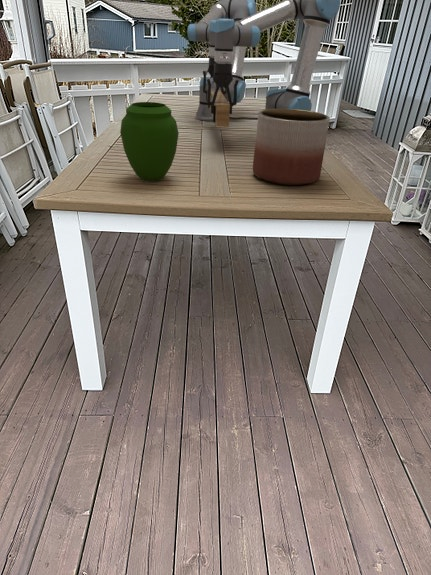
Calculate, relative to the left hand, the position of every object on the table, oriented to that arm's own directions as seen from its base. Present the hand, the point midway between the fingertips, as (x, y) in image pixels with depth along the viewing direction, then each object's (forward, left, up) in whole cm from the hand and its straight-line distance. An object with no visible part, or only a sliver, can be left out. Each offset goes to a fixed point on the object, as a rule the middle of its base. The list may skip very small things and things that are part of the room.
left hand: (214, 107), depth 215 cm
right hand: (+12, +37, 0) cm, 38 cm away
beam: (+6, +18, -1) cm, 19 cm away
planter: (+4, +83, -12) cm, 84 cm away
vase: (+54, +73, -12) cm, 91 cm away
